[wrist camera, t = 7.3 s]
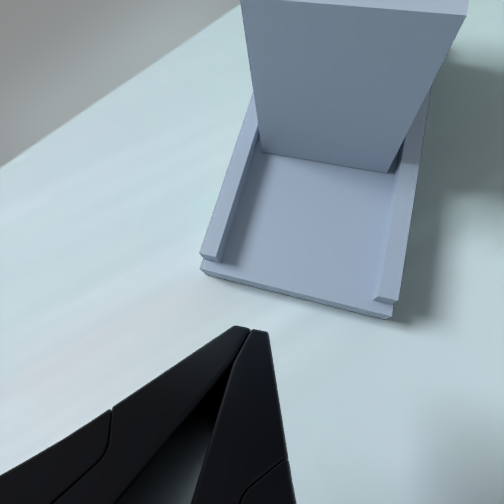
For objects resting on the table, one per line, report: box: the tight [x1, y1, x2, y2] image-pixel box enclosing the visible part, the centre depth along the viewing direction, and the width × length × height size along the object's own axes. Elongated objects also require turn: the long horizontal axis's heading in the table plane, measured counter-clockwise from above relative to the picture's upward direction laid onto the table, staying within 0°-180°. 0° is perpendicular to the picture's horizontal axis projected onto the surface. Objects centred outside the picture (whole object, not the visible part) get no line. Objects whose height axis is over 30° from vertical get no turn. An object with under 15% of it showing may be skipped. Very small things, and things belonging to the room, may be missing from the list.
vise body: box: [200, 85, 432, 320], centre depth 15 cm, size 17×9×8 cm, turn 165°
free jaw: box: [240, 0, 468, 173], centre depth 14 cm, size 2×6×8 cm, turn 75°
